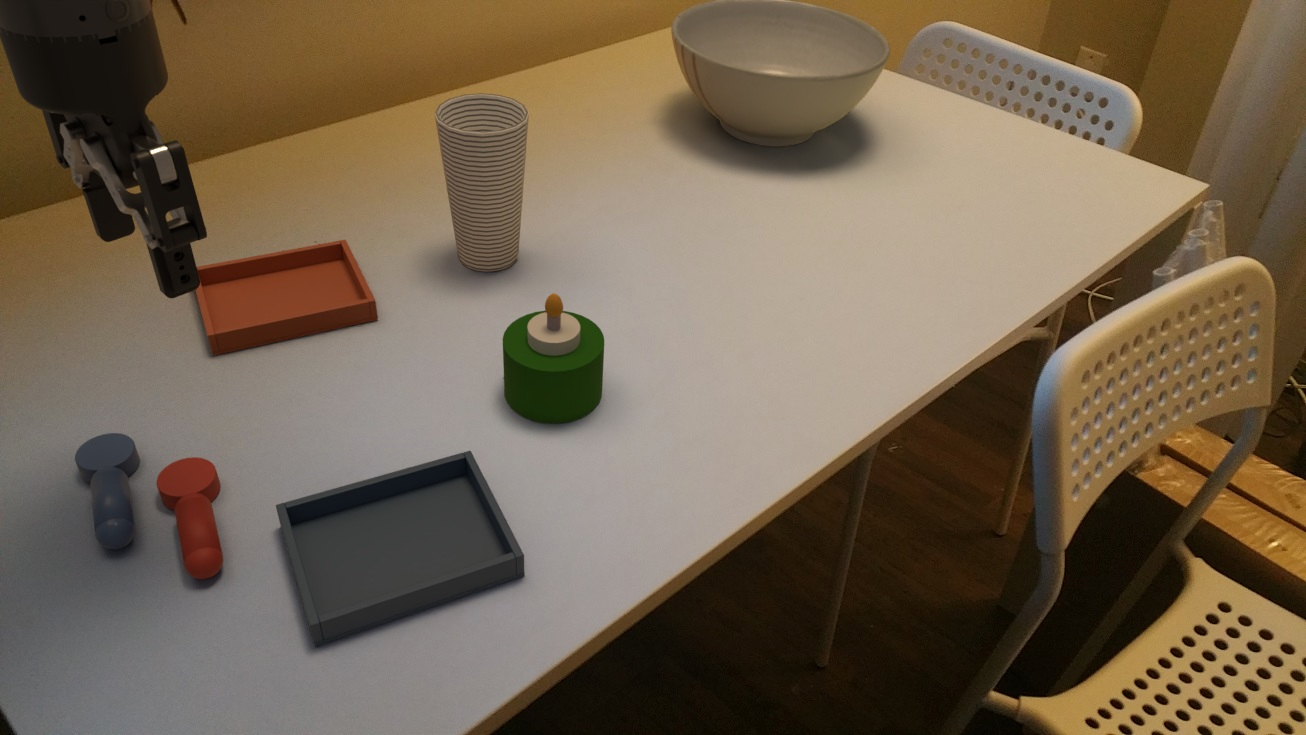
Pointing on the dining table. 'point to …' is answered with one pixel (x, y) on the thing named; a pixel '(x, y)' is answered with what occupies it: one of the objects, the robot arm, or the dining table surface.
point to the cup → (484, 175)
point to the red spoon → (194, 512)
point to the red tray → (282, 296)
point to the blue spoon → (110, 486)
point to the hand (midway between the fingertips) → (148, 263)
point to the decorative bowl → (776, 65)
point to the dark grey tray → (397, 545)
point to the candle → (553, 364)
